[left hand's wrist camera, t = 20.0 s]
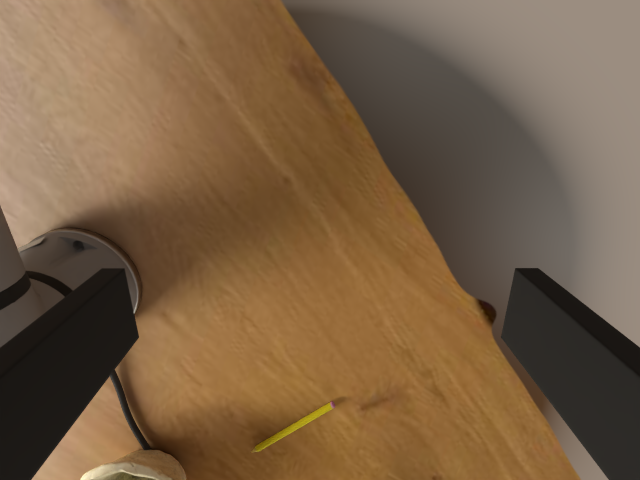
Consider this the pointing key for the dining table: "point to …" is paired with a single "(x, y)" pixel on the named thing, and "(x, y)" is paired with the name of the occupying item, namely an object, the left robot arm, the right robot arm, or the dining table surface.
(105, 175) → the dining table surface
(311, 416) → the pencil
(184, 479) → the bowl
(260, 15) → the dining table surface
